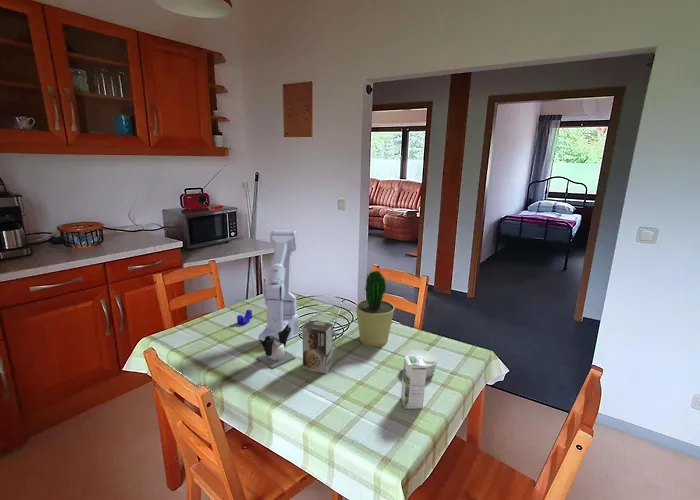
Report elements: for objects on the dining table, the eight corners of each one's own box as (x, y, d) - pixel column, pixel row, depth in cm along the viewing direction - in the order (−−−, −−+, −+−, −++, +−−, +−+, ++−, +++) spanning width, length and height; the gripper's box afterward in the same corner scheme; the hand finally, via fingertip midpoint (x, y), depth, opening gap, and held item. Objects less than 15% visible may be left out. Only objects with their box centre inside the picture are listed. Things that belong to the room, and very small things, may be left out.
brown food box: (333, 365, 134) (333, 323, 130) (326, 374, 128) (326, 331, 124) (309, 360, 137) (309, 319, 133) (302, 369, 131) (301, 326, 127)
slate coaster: (278, 348, 144) (278, 347, 144) (295, 358, 137) (295, 357, 137) (256, 358, 137) (256, 356, 137) (272, 369, 130) (272, 367, 130)
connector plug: (272, 352, 140) (271, 337, 139) (286, 357, 137) (285, 342, 135) (265, 356, 137) (264, 341, 136) (279, 361, 134) (279, 346, 132)
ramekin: (416, 383, 124) (418, 369, 123) (397, 366, 134) (398, 353, 132) (442, 375, 129) (444, 361, 128) (422, 359, 139) (423, 347, 138)
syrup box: (400, 397, 117) (403, 355, 113) (418, 396, 117) (422, 355, 114) (404, 409, 111) (407, 366, 108) (423, 408, 112) (427, 365, 108)
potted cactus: (387, 352, 143) (392, 278, 136) (350, 345, 148) (352, 272, 141) (396, 334, 158) (400, 266, 150) (361, 328, 162) (363, 262, 155)
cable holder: (244, 326, 163) (243, 317, 162) (237, 324, 164) (237, 316, 163) (254, 318, 170) (254, 310, 169) (248, 317, 171) (248, 309, 170)
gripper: (279, 306, 141) (280, 339, 144) (251, 320, 129) (253, 356, 132) (294, 311, 137) (294, 344, 141) (267, 325, 125) (268, 361, 129)
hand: (275, 350), depth 136 cm, fingers open, 7 cm apart
